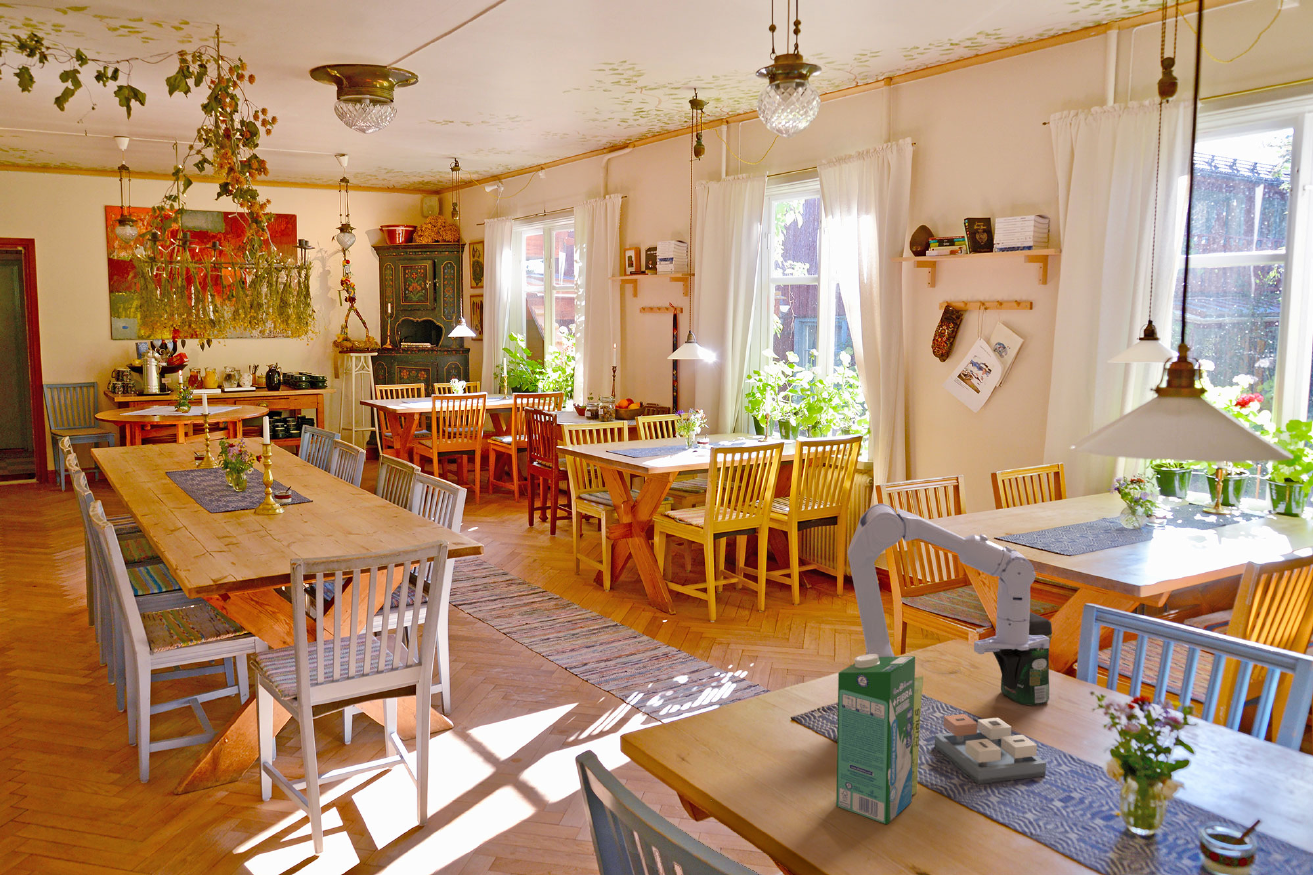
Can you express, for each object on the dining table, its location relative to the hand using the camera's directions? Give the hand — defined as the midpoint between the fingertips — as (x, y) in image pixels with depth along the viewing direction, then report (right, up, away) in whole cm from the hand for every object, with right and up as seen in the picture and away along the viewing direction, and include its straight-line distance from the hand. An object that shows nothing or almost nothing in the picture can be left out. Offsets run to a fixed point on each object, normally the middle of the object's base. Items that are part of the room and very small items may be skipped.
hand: (1010, 687), depth 171 cm
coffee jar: (+11, -8, +21) cm, 25 cm away
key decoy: (-11, -9, -5) cm, 15 cm away
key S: (-9, -11, -12) cm, 18 cm away
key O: (-4, -10, -3) cm, 11 cm away
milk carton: (-31, -13, -22) cm, 40 cm away
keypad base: (-7, -11, -7) cm, 15 cm away
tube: (-25, -13, -17) cm, 33 cm away
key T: (-3, -11, -10) cm, 15 cm away
